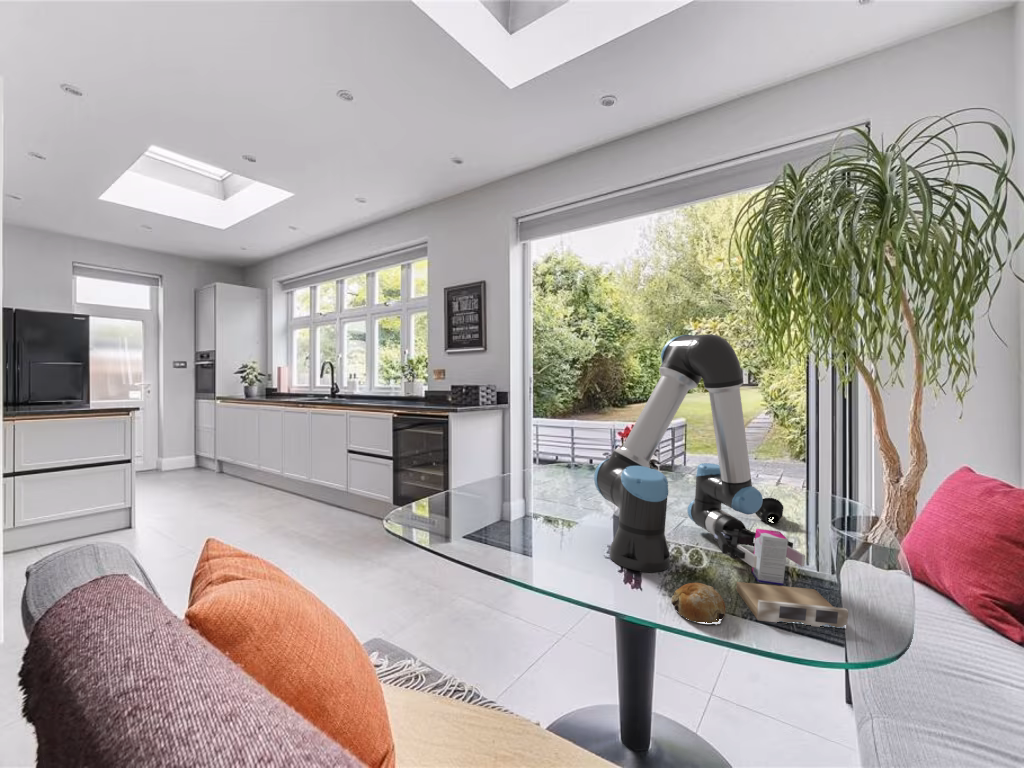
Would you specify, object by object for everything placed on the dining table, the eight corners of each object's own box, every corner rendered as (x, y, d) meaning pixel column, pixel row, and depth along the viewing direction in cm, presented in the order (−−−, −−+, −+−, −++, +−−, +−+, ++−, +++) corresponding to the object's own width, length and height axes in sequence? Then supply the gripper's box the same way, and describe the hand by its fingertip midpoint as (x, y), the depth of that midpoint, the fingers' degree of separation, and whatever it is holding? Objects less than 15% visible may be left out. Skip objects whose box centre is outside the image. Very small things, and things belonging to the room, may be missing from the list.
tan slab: (758, 621, 99) (760, 602, 98) (736, 590, 111) (737, 573, 111) (847, 630, 97) (848, 611, 96) (813, 597, 110) (815, 580, 109)
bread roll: (702, 646, 95) (723, 618, 92) (659, 607, 101) (678, 579, 98) (720, 627, 102) (739, 600, 100) (679, 591, 108) (696, 564, 106)
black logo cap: (754, 511, 157) (743, 480, 173) (764, 538, 159) (751, 505, 176) (785, 505, 153) (770, 474, 170) (794, 532, 156) (778, 500, 173)
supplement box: (784, 586, 115) (788, 539, 114) (757, 582, 116) (761, 536, 115) (776, 575, 120) (780, 530, 120) (750, 572, 122) (754, 527, 121)
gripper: (763, 540, 138) (823, 575, 116) (684, 541, 134) (731, 577, 113) (766, 514, 137) (826, 545, 116) (686, 514, 133) (734, 546, 112)
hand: (779, 561), depth 114 cm, fingers open, 12 cm apart
